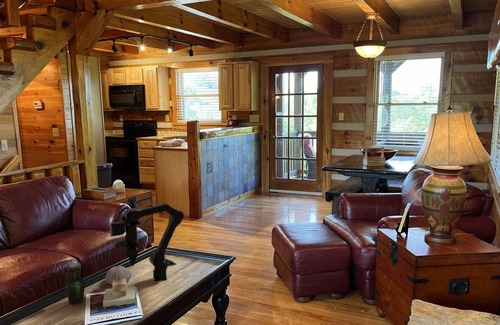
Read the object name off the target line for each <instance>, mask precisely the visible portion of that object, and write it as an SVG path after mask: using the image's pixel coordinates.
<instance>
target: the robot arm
mask: <svg viewBox="0 0 500 325" xmlns="http://www.w3.org/2000/svg"><path fill="white" fill-rule="evenodd" d="M162 212H166V213H167V214H168V215H169V216H168V222H167V223H168V224H167V226H166V229H165V230H164V232H163V234H162V237H161V238H160V241H159V243H158V245H157V247H156V249H155V250H154V249H151V253H150V254H149V255H148V257H149V258H148V260H149V263H150V264H151V265H152V266H153V269H152V274H153V276H152V277H153V278H152V279H154V280H153V281H154V282H159V281H160V282H161V281H167V279H168V277H167V269H168V267H169V265H168V263H165V262H164V258H166V250H167V249H168V247H169V244H170V241H171V239H172V237H173V235H174V233H175V231H176V229H177V227H178V226H180V224H181V223H182V222H183V220H184V218H185V214H184V212H183V211H181V210H180V209H178V208H174V207H172V206H171V205H169V203H166V202H163V203H160V204H154V205H150V206H146V207H142V208H140V207H139V208H137V207H136V208H132V207H131V208H126V209H125V210H124V213H123V216H122V217H121V219H120V221H119V222H118V221H117V222H110V226H109V234H110V237H119V236H123V235H125V236H124V237H123V238H120V239H118V240H116V241H114V244H113V245H114V248H115V250H117V251H118V250H120V249H121V248H123V247H125V249H124V255H125V256H126V257H127V258H128V259H129V262H130V266H131V267H133V266H134V265H135V263H136V260H137V258H138V255H139V239H138V225H141V224H142V223H141V221H139V220H140V219H142V218H144V217H147V216H150V215H151V216H152V215H155V214H159V213H162Z"/></svg>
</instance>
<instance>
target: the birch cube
mask: <svg viewBox="0 0 500 325" xmlns="http://www.w3.org/2000/svg"><path fill="white" fill-rule="evenodd" d="M111 286H112V289H113V297H120V296H126V293H127V287H128V286H127V282H126V279H118V280H113V284H112V285H111Z"/></svg>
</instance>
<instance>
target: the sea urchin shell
mask: <svg viewBox="0 0 500 325" xmlns="http://www.w3.org/2000/svg"><path fill="white" fill-rule="evenodd" d="M131 278H132V273H131V271H130V270H129V269H128V268H127V267H124V266H122V265H117V266H113V267H111V268H110V269H109V270H108V271H107V272H106V274H105V276H104V280H105V282H106V283H107V284H109V285H111V286H112V284H113V280H118V279H126V283H128V281H130V279H131Z"/></svg>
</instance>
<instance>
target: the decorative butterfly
mask: <svg viewBox="0 0 500 325" xmlns="http://www.w3.org/2000/svg"><path fill="white" fill-rule="evenodd" d="M168 257H170V256H168ZM164 262H165V263H166V264H170V263H173V264H172V265H177V263H176V262H174V261H172V260H170V259H168V258H167V257H165V258H164Z"/></svg>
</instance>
